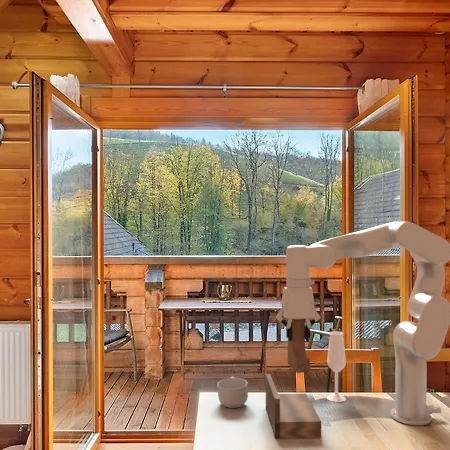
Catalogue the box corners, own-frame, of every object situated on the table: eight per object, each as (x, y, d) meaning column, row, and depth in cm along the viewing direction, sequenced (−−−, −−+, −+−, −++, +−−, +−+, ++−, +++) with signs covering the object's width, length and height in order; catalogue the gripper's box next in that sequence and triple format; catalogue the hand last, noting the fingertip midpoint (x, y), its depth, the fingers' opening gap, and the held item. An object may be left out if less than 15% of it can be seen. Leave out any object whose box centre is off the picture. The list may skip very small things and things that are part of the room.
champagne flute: (345, 395, 171) (345, 331, 171) (346, 402, 165) (346, 335, 164) (326, 394, 172) (327, 330, 172) (327, 401, 166) (327, 334, 166)
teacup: (245, 412, 156) (245, 389, 156) (214, 409, 158) (214, 386, 158) (251, 396, 170) (251, 375, 170) (222, 394, 172) (222, 373, 172)
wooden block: (310, 372, 145) (310, 315, 144) (296, 373, 144) (296, 315, 144) (300, 363, 153) (300, 309, 153) (287, 364, 153) (287, 310, 152)
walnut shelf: (305, 407, 160) (305, 373, 160) (321, 438, 138) (321, 398, 138) (265, 408, 160) (265, 373, 159) (274, 438, 138) (275, 398, 137)
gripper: (321, 281, 152) (321, 336, 153) (270, 282, 152) (270, 337, 152) (327, 285, 145) (327, 342, 145) (273, 285, 144) (273, 343, 144)
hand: (298, 339), depth 148 cm, fingers closed on wooden block, 4 cm apart
